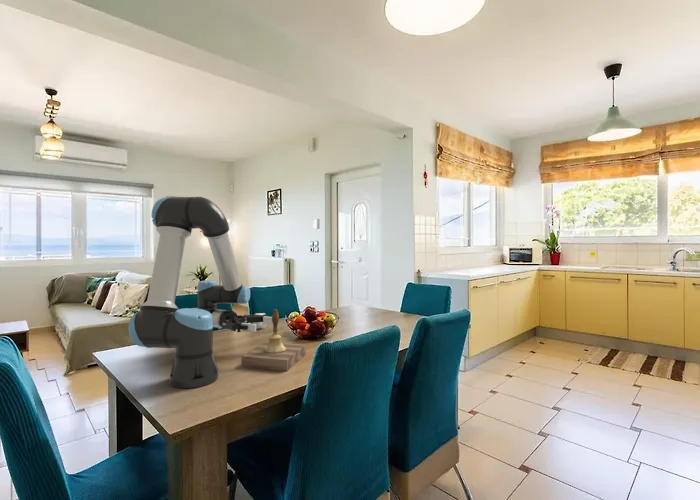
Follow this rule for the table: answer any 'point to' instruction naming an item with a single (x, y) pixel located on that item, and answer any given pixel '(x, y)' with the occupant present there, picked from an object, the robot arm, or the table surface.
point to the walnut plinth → (274, 357)
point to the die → (260, 324)
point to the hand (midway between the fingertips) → (266, 324)
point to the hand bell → (275, 337)
